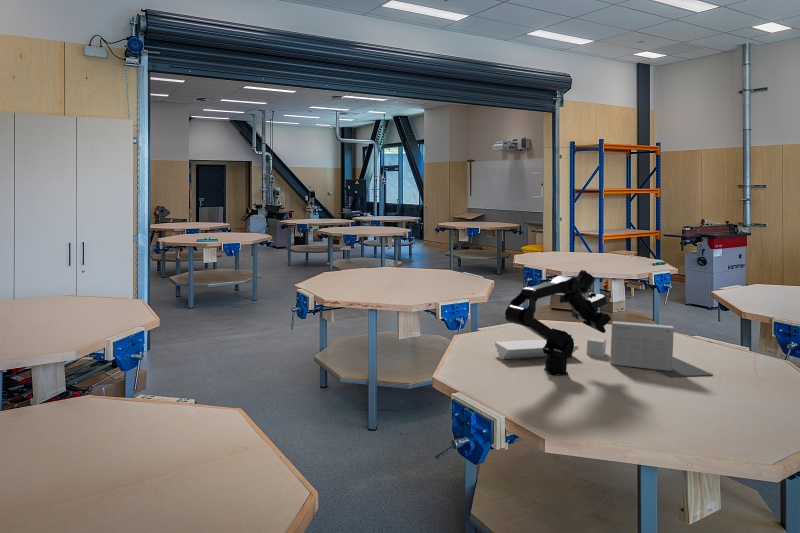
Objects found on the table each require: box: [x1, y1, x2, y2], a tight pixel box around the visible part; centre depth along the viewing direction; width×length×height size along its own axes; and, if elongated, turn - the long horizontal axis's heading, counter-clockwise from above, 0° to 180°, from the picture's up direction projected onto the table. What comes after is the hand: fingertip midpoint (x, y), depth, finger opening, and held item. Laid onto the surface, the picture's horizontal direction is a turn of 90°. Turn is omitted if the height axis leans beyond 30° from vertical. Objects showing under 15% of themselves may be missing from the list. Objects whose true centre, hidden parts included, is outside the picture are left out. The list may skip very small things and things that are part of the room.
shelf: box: [494, 339, 579, 360], centre depth 221 cm, size 12×30×5 cm, turn 106°
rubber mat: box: [654, 356, 714, 378], centre depth 213 cm, size 17×25×1 cm
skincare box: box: [610, 320, 675, 371], centre depth 210 cm, size 21×6×16 cm, turn 65°
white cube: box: [586, 336, 607, 358], centre depth 227 cm, size 6×6×6 cm
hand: (604, 332), depth 207 cm, fingers closed
